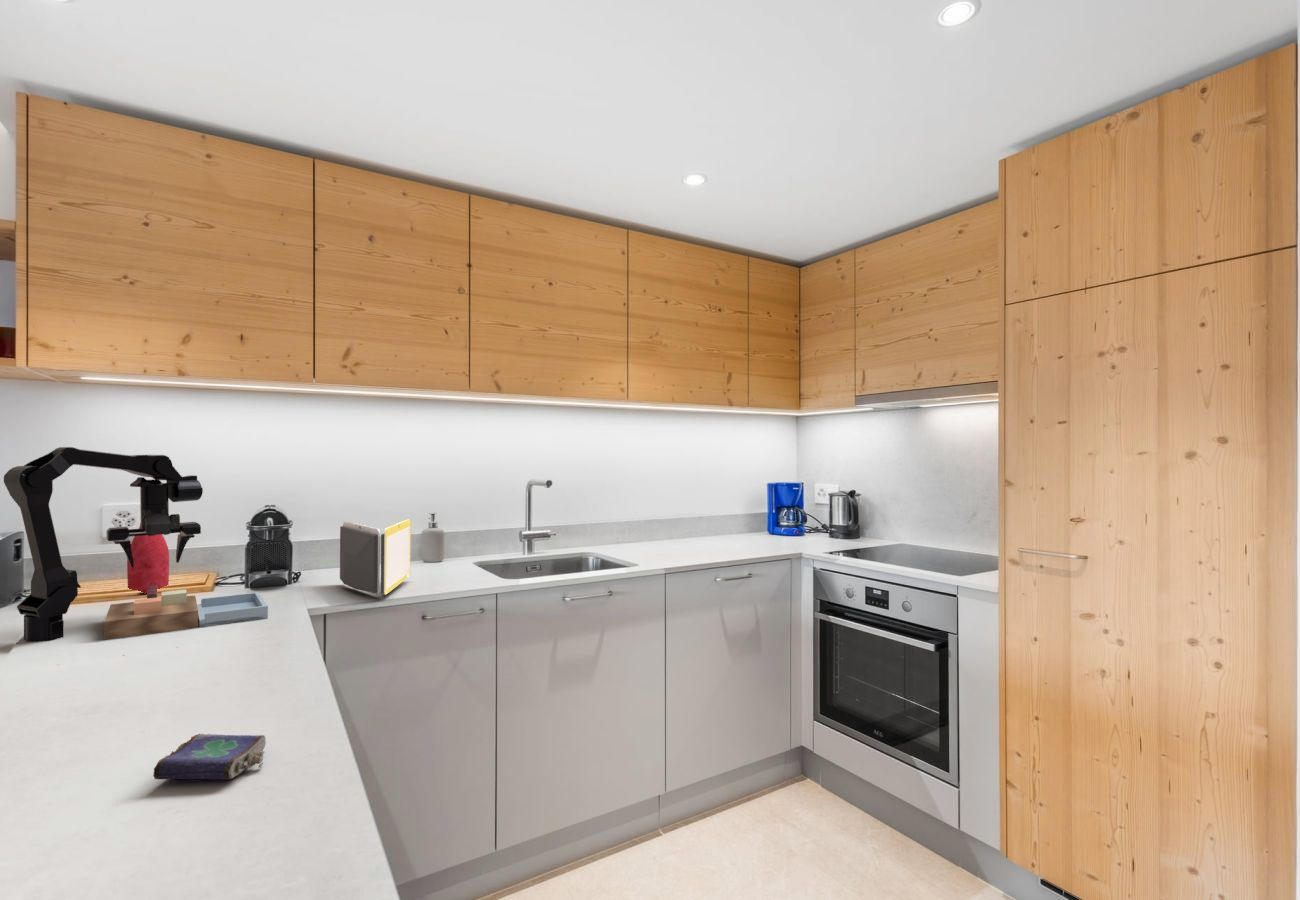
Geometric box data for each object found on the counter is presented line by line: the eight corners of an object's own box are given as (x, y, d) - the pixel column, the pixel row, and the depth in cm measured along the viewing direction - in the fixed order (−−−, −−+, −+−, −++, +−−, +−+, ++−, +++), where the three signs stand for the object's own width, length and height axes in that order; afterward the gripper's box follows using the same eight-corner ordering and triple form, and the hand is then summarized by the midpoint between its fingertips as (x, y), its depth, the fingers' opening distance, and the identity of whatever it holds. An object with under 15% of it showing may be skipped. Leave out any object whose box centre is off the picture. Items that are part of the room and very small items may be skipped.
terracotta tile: (134, 614, 149) (134, 603, 149) (134, 610, 153) (134, 599, 153) (161, 611, 152) (161, 600, 152) (161, 607, 156) (161, 597, 156)
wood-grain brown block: (104, 639, 143) (104, 621, 143) (110, 620, 159) (110, 604, 159) (198, 627, 153) (198, 610, 153) (195, 610, 169) (195, 595, 169)
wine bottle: (119, 593, 189) (119, 491, 189) (155, 587, 198) (156, 489, 198) (140, 596, 185) (140, 492, 185) (176, 589, 194) (176, 490, 194)
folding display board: (331, 581, 208) (331, 520, 208) (397, 572, 224) (397, 515, 224) (374, 598, 183) (374, 529, 183) (446, 587, 199) (446, 523, 199)
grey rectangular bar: (147, 614, 166) (147, 594, 166) (148, 603, 177) (148, 585, 177) (156, 612, 167) (156, 593, 167) (157, 602, 179) (157, 584, 179)
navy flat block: (200, 730, 89) (281, 732, 89) (199, 751, 89) (279, 753, 89) (153, 763, 79) (243, 765, 80) (151, 786, 79) (242, 789, 80)
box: (199, 627, 153) (199, 614, 153) (196, 610, 169) (196, 599, 169) (267, 618, 162) (267, 606, 162) (258, 603, 178) (258, 592, 178)
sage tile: (161, 605, 158) (161, 595, 158) (161, 601, 162) (161, 591, 162) (186, 602, 161) (186, 592, 161) (186, 599, 165) (186, 589, 165)
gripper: (109, 508, 153) (110, 574, 153) (204, 503, 166) (205, 564, 166) (105, 505, 161) (106, 568, 161) (196, 500, 174) (197, 558, 174)
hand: (155, 564), depth 165 cm, fingers open, 9 cm apart
